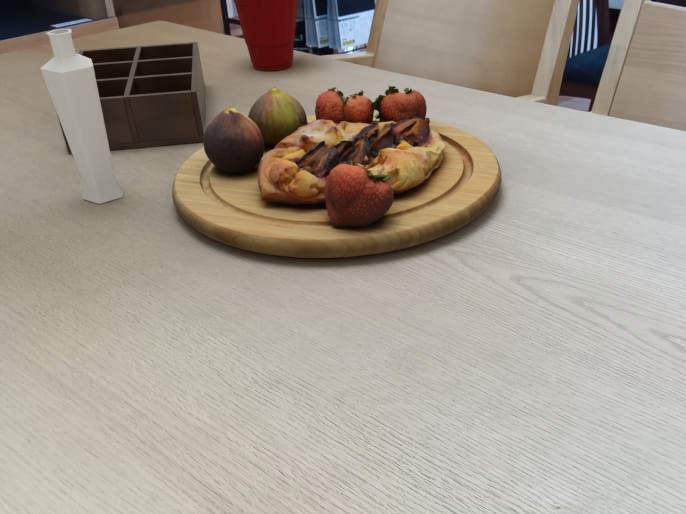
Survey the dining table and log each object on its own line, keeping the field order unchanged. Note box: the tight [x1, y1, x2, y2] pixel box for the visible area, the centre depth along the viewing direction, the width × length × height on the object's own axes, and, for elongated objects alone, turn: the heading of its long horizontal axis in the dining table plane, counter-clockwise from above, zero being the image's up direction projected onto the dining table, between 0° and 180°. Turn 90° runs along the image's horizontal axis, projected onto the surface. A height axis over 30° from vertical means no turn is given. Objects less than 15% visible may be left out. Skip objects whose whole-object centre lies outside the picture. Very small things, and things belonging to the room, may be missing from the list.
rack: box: [55, 41, 206, 155], centre depth 91 cm, size 15×22×6 cm
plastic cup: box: [233, 0, 299, 72], centre depth 106 cm, size 11×11×12 cm
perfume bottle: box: [40, 28, 124, 205], centre depth 69 cm, size 5×4×15 cm
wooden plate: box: [171, 85, 502, 259], centre depth 72 cm, size 32×32×8 cm
